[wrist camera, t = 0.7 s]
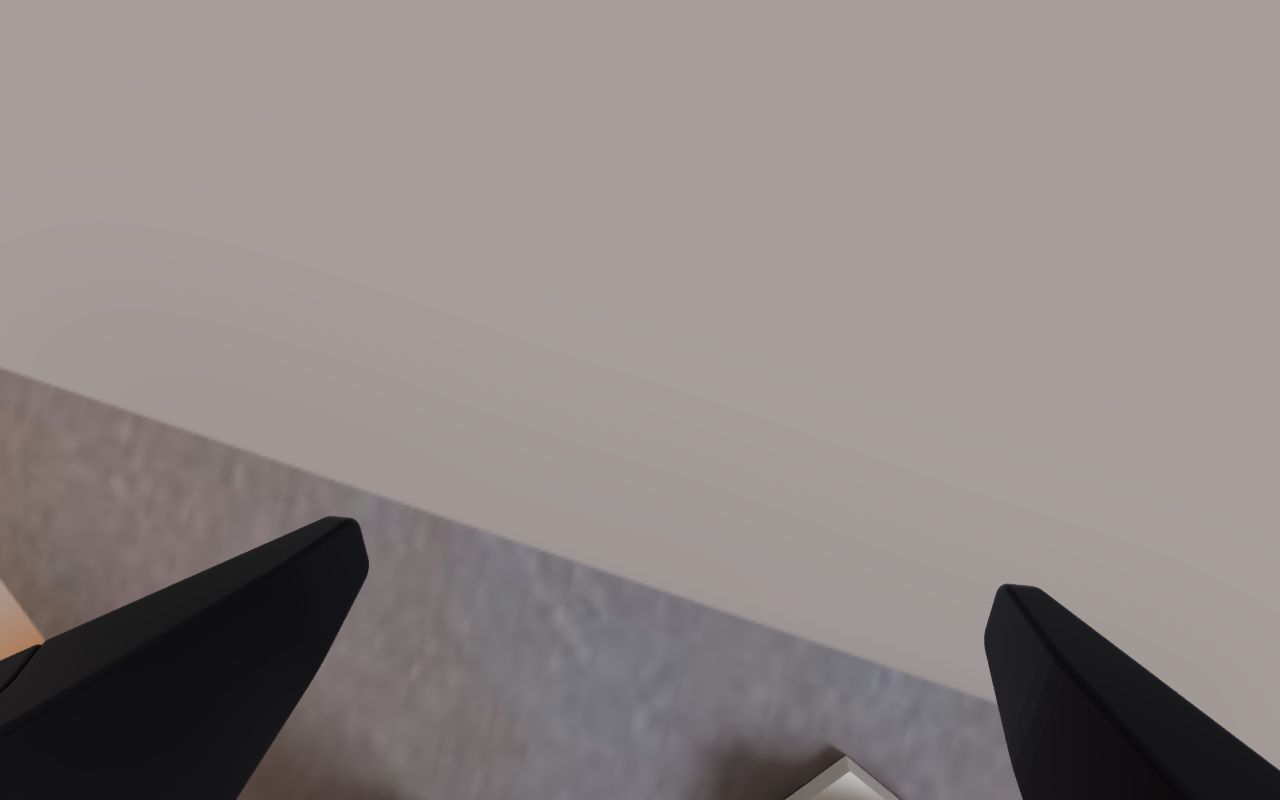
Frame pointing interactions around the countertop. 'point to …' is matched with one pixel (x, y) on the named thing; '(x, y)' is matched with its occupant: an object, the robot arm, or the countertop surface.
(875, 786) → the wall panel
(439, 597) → the countertop surface
